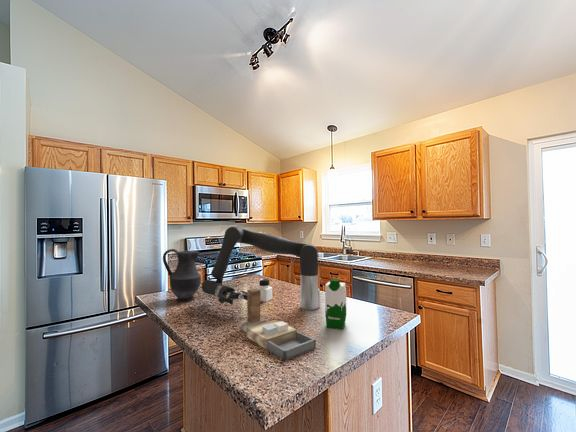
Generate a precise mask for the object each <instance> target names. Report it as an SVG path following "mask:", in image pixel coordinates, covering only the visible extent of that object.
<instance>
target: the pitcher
mask: <svg viewBox="0 0 576 432" xmlns="http://www.w3.org/2000/svg"><path fill="white" fill-rule="evenodd" d="M171 252H174V253H175V254H176V255H177V260H178V263H177V266H176V268H175V271H173V272H172V270H171V268H170V266H169V263H168V262H167V259H166V258H167V257H166V256H167V254H169V253H171ZM162 255H163V256H162V262H163V265H164V267H165V269H166V270H167V271H166V272H167V273H168V275H169V286H170V290H171V292H172V293H173V295H175V296H176V298H177V299H176V302H177V301H178V302H177V303H188V301H190V302H192V300H193V301H194V300H195V297H194V295H195V293H197V292H198V290H199V289H200V287H201V281H202V276H201V274H200V273H199V271H198V269H197V265H196V260H197V258H198V257H199V255H200V251H198V250H181V251H180V250H179V251H178V250H177V249H174V248H170V249H167V250H166V251H165V252H164V253H163V254H162Z"/></svg>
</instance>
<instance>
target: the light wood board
mask: <svg viewBox="0 0 576 432" xmlns="http://www.w3.org/2000/svg"><path fill="white" fill-rule="evenodd" d="M277 322H280V321H279V320H277V319H273V320H270V321H266V323H262V324H258V325H255V326H251V327H248V328H247V332H246V338H247V339H249V340H251V341H253V342H254V343H256V344H257V345H259V346H260V347H262V348H264V349H265V350H267V341H271V342H272V343H274V344H276V345H279V344H282V343H285V342H288V341H290V340H293V339H296V332H297V331H298V329H297V328H295V327H292V326H291V325H288V329H287V330H284V331H281V332H279V331H277V333H275V334H272V335H267V334H265V333H263V332H262V327H263V326H267V325H270V324H272V325H274V323H277Z"/></svg>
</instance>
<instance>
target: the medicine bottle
mask: <svg viewBox="0 0 576 432" xmlns="http://www.w3.org/2000/svg"><path fill="white" fill-rule="evenodd" d="M255 289H258V290H260V302H264V303H268V302H269V301H272V300H273V287H272V286H270V279H268V278H261V279H259V280H258V287H256V288H255Z"/></svg>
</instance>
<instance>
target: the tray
mask: <svg viewBox="0 0 576 432" xmlns="http://www.w3.org/2000/svg"><path fill="white" fill-rule="evenodd" d="M316 343H317V341H316V338H313V337H311V336H309V335H306V334H305V333H303V332H301V331H299V330H297V332H296V339H293V340H290V341H288V342H285V343H282V344H279V345H276V344H274V343H272V342H271V341H267V349H266V350H267V351H268V352H270V353H271V354H273V355H274V356H276V357H278V358H279V359H280V360H282V361H284V362H286V361H288V360H290V359H293V358H296V357H298V356H300V355H302V354H305V353H307V352H310V351H312V349H313V350H315V349H316V348H317V347H316V346H317V345H316Z"/></svg>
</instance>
